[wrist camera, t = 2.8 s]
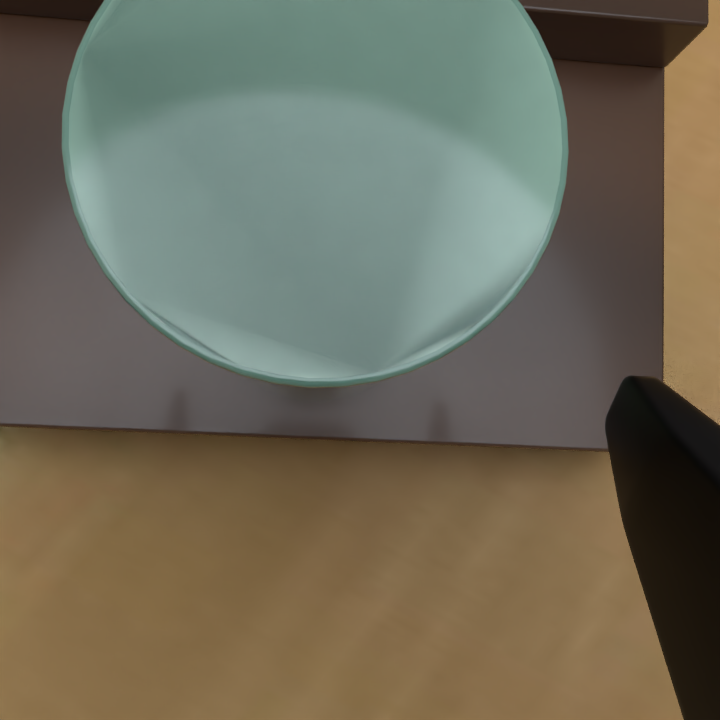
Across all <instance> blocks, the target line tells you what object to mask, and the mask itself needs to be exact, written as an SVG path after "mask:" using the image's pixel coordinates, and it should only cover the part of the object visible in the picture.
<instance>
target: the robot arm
mask: <svg viewBox="0 0 720 720" xmlns="http://www.w3.org/2000/svg"><path fill="white" fill-rule="evenodd" d="M605 433H606V438H607V444H608V449H609V454H610V460H611V465H612V470H613V476H614V481H615V486H616V492H617V497H618V502H619V508H620V512H621V517H622V521H623V525H624V529H625V532H626V536H627V539H628V543H629V546H630V549H631V552H632V555H633V559H634V562H635V565H636V568H637V571H638V575H639V578H640V581H641V584H642V587H643V591H644V594H645V597H646V600H647V603H648V607H649V610H650V613H651V616H652V619H653V623H654V626H655V629H656V632H657V635H658V639H659V642H660V645H661V648H662V651H663V655H664V658H665V661H666V664H667V667H668V671H669V674H670V677H671V680H672V683H673V687H674V690H675V693H676V696H677V699H678V703H679V706H680V709H681V712H682V715H683V719H684V720H720V425H718V424H717V423H716V422H714V421H713V420H712V419H710V418H709V417H708V416H706V415H705V414H704V413H703V412H701V411H700V410H699V409H697V408H696V407H695V406H693V405H692V404H691V403H689V402H688V401H687V400H685V399H684V398H683V397H682V396H680V395H679V394H678V393H676V392H675V391H674V390H672V389H671V388H670V387H668V386H667V385H666V384H664V383H663V382H662V381H661V380H659V379H658V378H655V377H651V376H634V375H631V376H627V377H626V378H624V379H623V381H622V382H621V384H620V386H619V388H618V391H617V393H616V395H615V397H614V400H613V402H612V404H611V406H610V408H609V411H608V413H607V416H606V420H605Z"/></svg>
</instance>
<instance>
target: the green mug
mask: <svg viewBox="0 0 720 720" xmlns="http://www.w3.org/2000/svg"><path fill="white" fill-rule="evenodd" d="M61 149H62V158H63V166H64V174H65V182H66V186H67V190H68V193H69V197H70V201H71V205H72V208H73V212H74V215H75V218H76V220H77V222H78V225H79V227H80V230H81V232H82V234H83V237H84V239H85V242H86V244H87V246H88V248H89V249H90V251H91V253H92V255H93V256H94V258H95V260H96V261H97V263H98V265H99V266H100V268H101V270H102V271H103V273H104V275H105V276H106V277H107V279H108V280H109V281H110V282H111V284H112V285H113V286H114V287H115V289H116V290H117V291H118V293H119V294H120V295H121V296H122V298H123V299H124V300H125V301H126V302H127V303H128V304H129V305H130V306H131V307H132V308H133V309H134V310H135V311H136V312H137V313H138V314H139V315H140V316H141V317H142V318H143V319H144V320H145V321H146V322H147V323H148V324H149V325H150V326H152V327H153V328H154V329H156V330H157V331H158V332H160V333H161V334H163V335H164V336H165V337H167V338H168V339H169V340H171V341H172V342H173V343H175V344H176V345H177V346H179V347H181V348H183V349H184V350H186V351H188V352H190V353H192V354H193V355H195V356H197V357H199V358H201V359H202V360H204V361H206V362H208V363H210V364H212V365H213V366H215V367H218V368H220V369H223V370H225V371H228V372H230V373H233V374H236V375H238V376H240V377H241V378H243V379H245V380H246V381H248V382H250V383H252V384H253V385H255V386H257V387H259V388H261V389H262V390H264V391H266V392H269V393H271V394H274V395H277V396H279V397H283V398H287V399H291V400H295V401H303V402H329V401H336V400H342V399H345V398H349V397H352V396H356V395H358V394H361V393H363V392H365V391H367V390H370V389H372V388H374V387H376V386H378V385H380V384H382V383H384V382H386V381H388V380H390V379H394V378H397V377H401V376H403V375H406V374H408V373H410V372H413V371H415V370H417V369H419V368H422V367H424V366H426V365H429V364H431V363H433V362H435V361H437V360H440V359H441V358H443V357H444V356H446V355H448V354H449V353H451V352H453V351H454V350H456V349H458V348H459V347H461V346H463V345H464V344H466V343H467V342H469V341H470V340H471V339H473V338H474V337H475V336H476V335H477V334H479V333H480V332H481V331H482V330H484V329H485V328H486V327H487V326H489V325H490V324H491V323H492V322H493V321H494V320H495V319H496V318H497V317H498V316H499V315H500V314H501V313H502V312H503V311H504V310H505V309H506V308H507V307H508V305H509V304H510V303H511V302H512V301H513V300H514V299H515V298H516V297H517V295H518V294H519V292H520V291H521V290H522V288H523V287H524V285H525V284H526V283H527V281H528V280H529V278H530V277H531V276H532V274H533V273H534V271H535V269H536V267H537V265H538V263H539V261H540V260H541V258H542V256H543V254H544V252H545V250H546V248H547V246H548V244H549V242H550V239H551V236H552V234H553V231H554V228H555V225H556V223H557V220H558V217H559V214H560V210H561V205H562V200H563V196H564V191H565V187H566V179H567V167H568V155H569V150H568V130H567V117H566V112H565V106H564V101H563V95H562V90H561V87H560V83H559V80H558V77H557V74H556V71H555V68H554V65H553V62H552V59H551V57H550V55H549V52H548V50H547V48H546V46H545V44H544V42H543V40H542V37H541V35H540V33H539V31H538V29H537V28H536V26H535V25H534V23H533V22H532V20H531V18H530V17H529V15H528V14H527V12H526V10H525V9H524V7H523V6H522V4H521V3H520V2H519V1H518V0H104V1H103V3H102V5H101V6H100V8H99V9H98V11H97V12H96V14H95V15H94V17H93V19H92V20H91V22H90V24H89V26H88V28H87V30H86V32H85V35H84V37H83V39H82V41H81V43H80V45H79V47H78V50H77V52H76V55H75V59H74V62H73V65H72V69H71V72H70V75H69V78H68V82H67V88H66V94H65V100H64V107H63V113H62V147H61Z"/></svg>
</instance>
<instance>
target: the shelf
mask: <svg viewBox="0 0 720 720" xmlns="http://www.w3.org/2000/svg"><path fill="white" fill-rule="evenodd" d="M103 1H104V0H0V426H3V427H27V428H51V429H75V430H99V431H123V432H147V433H171V434H195V435H218V436H242V437H266V438H290V439H314V440H338V441H362V442H386V443H410V444H434V445H458V446H482V447H506V448H529V449H553V450H577V451H601V452H609V449H608V444H607V438H606V433H605V420H606V416H607V413H608V411H609V408H610V406H611V404H612V402H613V400H614V397H615V395H616V393H617V391H618V388H619V386H620V384H621V382H622V381H623V379H624V378H626V377H627V376H631V375H634V376H651V377H655V378H658V379H659V380H661V381H662V382H663V326H664V67H666V66H667V65H668V64H669V63H670V62H671V61H672V60H674V59H675V58H676V57H677V56H678V55H679V54H680V53H681V52H682V51H683V50H684V49H685V48H686V47H687V46H688V45H689V44H690V43H691V42H692V41H693V40H694V39H695V38H696V37H697V36H698V35H699V34H700V33H701V32H702V31H703V30H704V29H705V28H706V27H707V25H708V0H518V1H519V2H520V3H521V4H522V6H523V7H524V9H525V10H526V12H527V14H528V15H529V17H530V18H531V20H532V22H533V23H534V25H535V26H536V28H537V29H538V31H539V33H540V35H541V37H542V40H543V42H544V44H545V46H546V48H547V50H548V52H549V55H550V57H551V59H552V62H553V65H554V68H555V71H556V74H557V77H558V80H559V83H560V87H561V90H562V95H563V101H564V106H565V112H566V117H567V130H568V150H569V155H568V167H567V179H566V187H565V191H564V196H563V200H562V205H561V210H560V214H559V217H558V220H557V223H556V225H555V228H554V231H553V234H552V236H551V239H550V242H549V244H548V246H547V248H546V250H545V252H544V254H543V256H542V258H541V260H540V261H539V263H538V265H537V267H536V269H535V271H534V273H533V274H532V276H531V277H530V278H529V280H528V281H527V283H526V284H525V285H524V287H523V288H522V290H521V291H520V292H519V294H518V295H517V297H516V298H515V299H514V300H513V301H512V302H511V303H510V304H509V305H508V307H507V308H506V309H505V310H504V311H503V312H502V313H501V314H500V315H499V316H498V317H497V318H496V319H495V320H494V321H493V322H492V323H491V324H490V325H489V326H487V327H486V328H485V329H484V330H482V331H481V332H480V333H479V334H477V335H476V336H475V337H474V338H473V339H471V340H470V341H469V342H467V343H466V344H464V345H463V346H461V347H459V348H458V349H456V350H454V351H453V352H451V353H449V354H448V355H446V356H444V357H443V358H441V359H440V360H437V361H435V362H433V363H431V364H429V365H426V366H424V367H422V368H419V369H417V370H415V371H413V372H410V373H408V374H406V375H403V376H401V377H397V378H394V379H390V380H388V381H386V382H384V383H382V384H380V385H378V386H376V387H374V388H372V389H370V390H367V391H365V392H363V393H361V394H358V395H356V396H352V397H349V398H345V399H342V400H336V401H329V402H303V401H295V400H291V399H287V398H283V397H279V396H277V395H274V394H271V393H269V392H266V391H264V390H262V389H261V388H259V387H257V386H255V385H253V384H252V383H250V382H248V381H246V380H245V379H243V378H241V377H240V376H238V375H236V374H233V373H230V372H228V371H225V370H223V369H220V368H218V367H215V366H213V365H212V364H210V363H208V362H206V361H204V360H202V359H201V358H199V357H197V356H195V355H193V354H192V353H190V352H188V351H186V350H184V349H183V348H181V347H179V346H177V345H176V344H175V343H173V342H172V341H171V340H169V339H168V338H167V337H165V336H164V335H163V334H161V333H160V332H158V331H157V330H156V329H154V328H153V327H152V326H150V325H149V324H148V323H147V322H146V321H145V320H144V319H143V318H142V317H141V316H140V315H139V314H138V313H137V312H136V311H135V310H134V309H133V308H132V307H131V306H130V305H129V304H128V303H127V302H126V301H125V300H124V299H123V298H122V296H121V295H120V294H119V293H118V291H117V290H116V289H115V287H114V286H113V285H112V284H111V282H110V281H109V280H108V279H107V277H106V276H105V275H104V273H103V271H102V270H101V268H100V266H99V265H98V263H97V261H96V260H95V258H94V256H93V255H92V253H91V251H90V249H89V248H88V246H87V244H86V242H85V239H84V237H83V234H82V232H81V230H80V227H79V225H78V222H77V220H76V218H75V215H74V212H73V208H72V205H71V201H70V197H69V193H68V190H67V186H66V182H65V174H64V166H63V158H62V149H61V147H62V113H63V107H64V100H65V94H66V88H67V82H68V78H69V75H70V72H71V69H72V65H73V62H74V59H75V55H76V52H77V50H78V47H79V45H80V43H81V41H82V39H83V37H84V35H85V32H86V30H87V28H88V26H89V24H90V22H91V20H92V19H93V17H94V15H95V14H96V12H97V11H98V9H99V8H100V6H101V5H102V3H103Z"/></svg>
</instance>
